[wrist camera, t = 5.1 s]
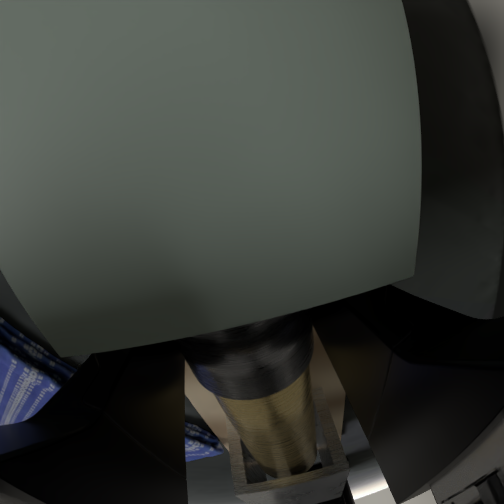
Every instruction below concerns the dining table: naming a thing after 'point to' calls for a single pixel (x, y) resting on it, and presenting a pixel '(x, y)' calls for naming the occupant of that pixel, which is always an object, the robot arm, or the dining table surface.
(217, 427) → the mounting board
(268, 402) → the tube
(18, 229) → the socket
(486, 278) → the dining table surface
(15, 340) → the dish towel
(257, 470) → the sleeve
